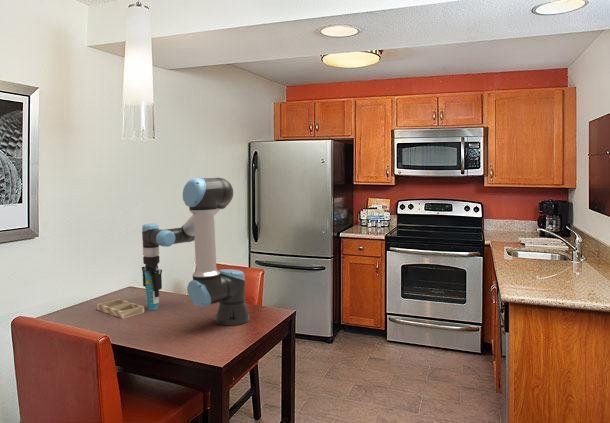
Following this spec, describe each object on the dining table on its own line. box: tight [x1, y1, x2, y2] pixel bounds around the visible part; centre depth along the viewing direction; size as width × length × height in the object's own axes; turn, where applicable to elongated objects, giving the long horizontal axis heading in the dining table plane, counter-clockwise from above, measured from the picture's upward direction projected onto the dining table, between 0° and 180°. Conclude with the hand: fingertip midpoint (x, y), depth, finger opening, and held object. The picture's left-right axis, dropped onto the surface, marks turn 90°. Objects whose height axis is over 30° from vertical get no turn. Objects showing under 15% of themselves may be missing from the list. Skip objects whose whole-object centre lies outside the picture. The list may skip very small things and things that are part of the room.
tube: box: [144, 271, 159, 311], centre depth 229 cm, size 7×5×19 cm, turn 134°
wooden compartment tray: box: [96, 298, 145, 320], centre depth 226 cm, size 22×12×3 cm, turn 52°
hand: (152, 302), depth 230 cm, fingers closed on tube, 5 cm apart
